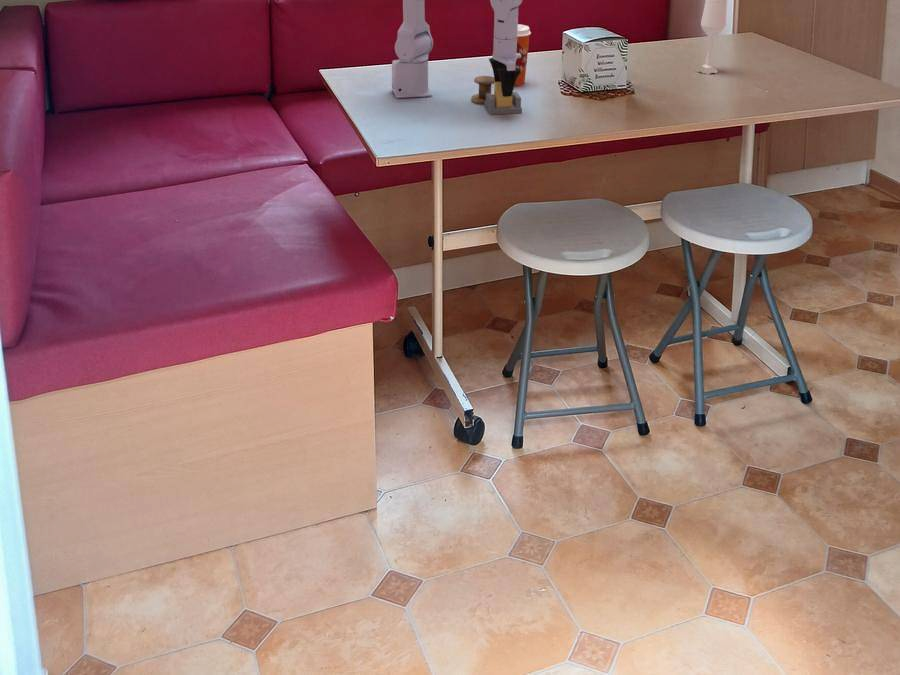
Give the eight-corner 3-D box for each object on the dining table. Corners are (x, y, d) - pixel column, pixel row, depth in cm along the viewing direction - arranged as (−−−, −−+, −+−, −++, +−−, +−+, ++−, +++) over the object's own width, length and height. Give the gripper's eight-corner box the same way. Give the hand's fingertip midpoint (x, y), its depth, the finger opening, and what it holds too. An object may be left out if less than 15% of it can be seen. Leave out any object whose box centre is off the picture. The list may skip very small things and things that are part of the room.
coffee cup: (526, 88, 278) (528, 31, 270) (496, 86, 279) (497, 30, 272) (530, 79, 285) (533, 24, 278) (500, 77, 286) (502, 22, 279)
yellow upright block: (496, 107, 260) (497, 85, 257) (493, 103, 263) (494, 81, 260) (511, 106, 261) (512, 84, 258) (509, 102, 263) (510, 81, 260)
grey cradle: (490, 114, 259) (490, 100, 257) (484, 106, 265) (484, 92, 263) (521, 113, 260) (522, 99, 258) (515, 104, 266) (515, 90, 264)
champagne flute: (695, 73, 292) (706, -15, 279) (694, 67, 297) (705, -20, 285) (719, 75, 291) (732, -14, 279) (718, 68, 296) (730, -19, 284)
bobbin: (474, 105, 265) (474, 83, 262) (468, 97, 271) (469, 75, 268) (500, 103, 266) (501, 82, 263) (494, 95, 272) (495, 74, 269)
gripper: (528, 43, 248) (526, 99, 254) (514, 28, 260) (512, 82, 267) (499, 44, 246) (498, 100, 253) (487, 29, 259) (485, 83, 266)
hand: (503, 91), depth 260 cm, fingers open, 7 cm apart
